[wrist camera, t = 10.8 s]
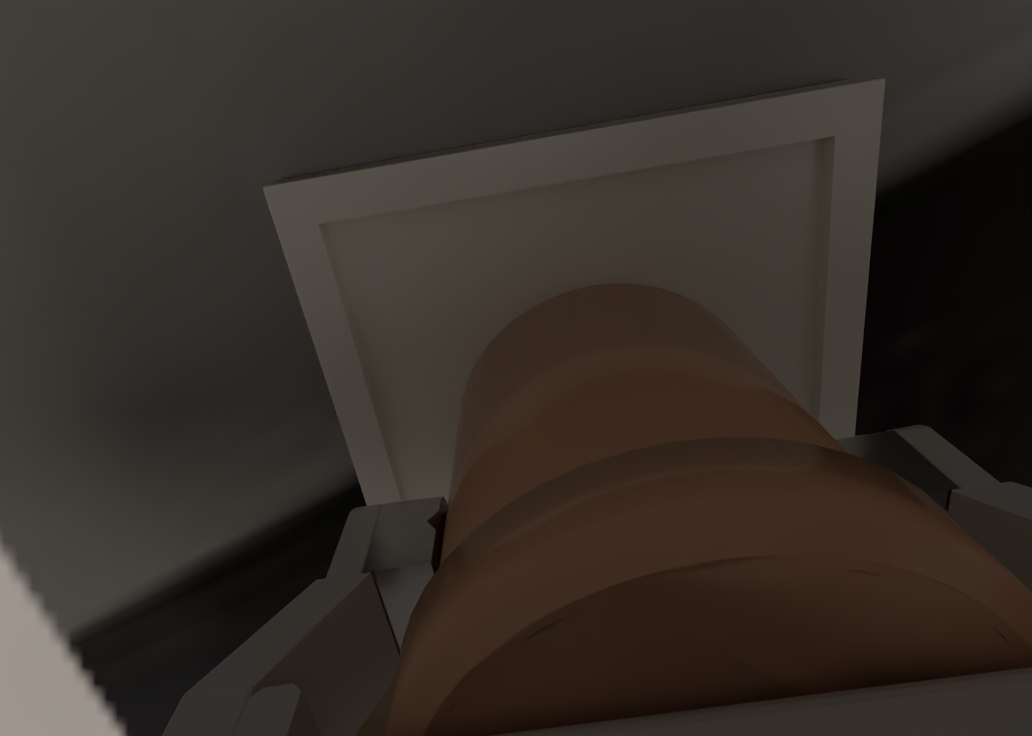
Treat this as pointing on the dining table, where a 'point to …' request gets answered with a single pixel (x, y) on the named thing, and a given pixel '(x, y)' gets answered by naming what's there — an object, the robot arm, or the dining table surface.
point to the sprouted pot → (675, 538)
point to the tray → (584, 255)
